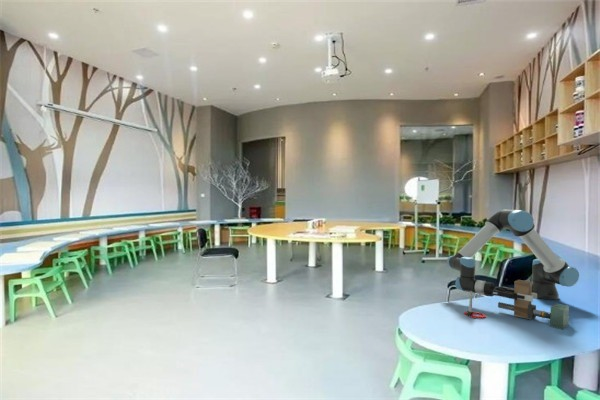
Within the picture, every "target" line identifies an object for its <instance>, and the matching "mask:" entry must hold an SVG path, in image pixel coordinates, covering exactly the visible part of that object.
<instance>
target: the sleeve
mask: <svg viewBox="0 0 600 400" xmlns="http://www.w3.org/2000/svg"><path fill="white" fill-rule="evenodd" d="M513 283H514V286H513V287H514V293H516V294H517V293H520V294H525V295H530V296H532V281H528V280H521V279H517V280H515V281H514V282H513ZM531 304H532V302H531V301H526V300H521V299H517V300H515V298H514V299H513V305H514V311H513V317H514V316H515V317H519V318H522V319H527V320H529V319H528V306H530V305H531Z"/></svg>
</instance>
